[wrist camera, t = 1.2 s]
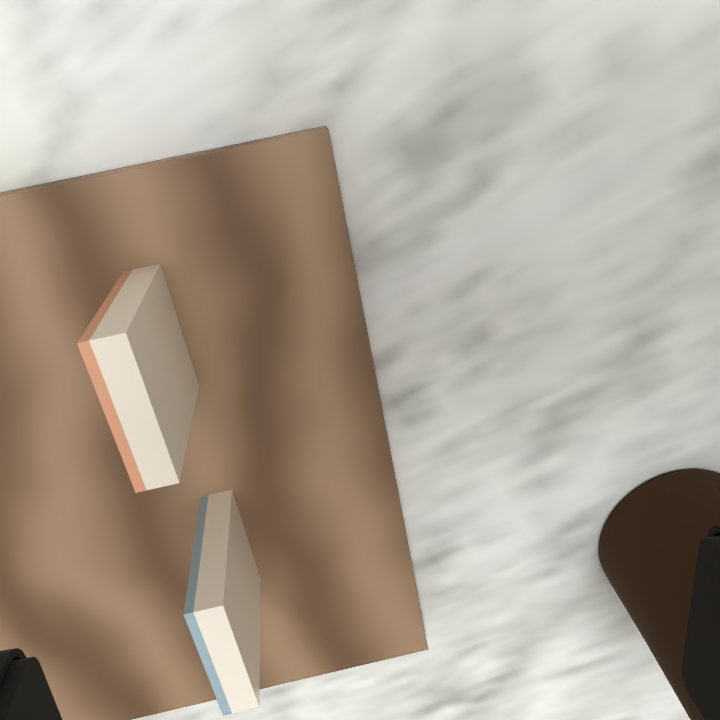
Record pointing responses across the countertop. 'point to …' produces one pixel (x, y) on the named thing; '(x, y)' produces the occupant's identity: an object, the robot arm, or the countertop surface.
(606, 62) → the countertop surface
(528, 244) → the countertop surface
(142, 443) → the tile
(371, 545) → the board
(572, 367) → the countertop surface
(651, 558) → the olive oil
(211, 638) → the tile
